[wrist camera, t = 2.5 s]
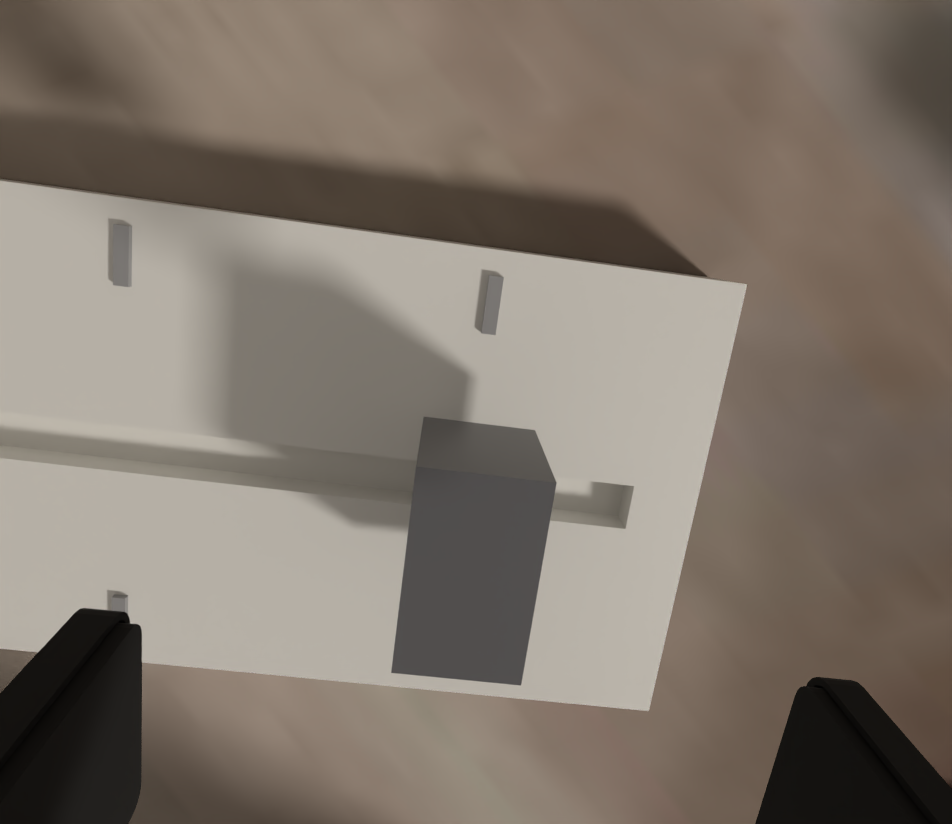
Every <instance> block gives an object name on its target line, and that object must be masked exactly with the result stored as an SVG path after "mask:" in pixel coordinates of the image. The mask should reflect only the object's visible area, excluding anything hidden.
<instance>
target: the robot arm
mask: <svg viewBox="0 0 952 824" xmlns="http://www.w3.org/2000/svg"><path fill="white" fill-rule="evenodd" d="M141 722H142V630H141V627H140V625H138V624H130V619H129V616H128V614H127V613H126V612H122V611H111V610H101V609H90V608H82V609H79V610H78V611H76V612H75V613H74V614H73V615H72V616H71V617H70V619H69V620H68V621H67V622H66V623H65V624H64V625H63V626H62V627H61V628H60V629H59V630H58V632H57V633H56V634H55V635H54V636H53V637H52V638H51V639H50V640H49V641H48V642H47V643H46V645H45V646H44V647H43V648H42V649H41V650H40V651H39V652H38V653H37V654H36V655H35V656H34V658H33V659H32V660H31V661H30V662H29V663H28V664H27V665H26V666H25V667H24V668H23V669H22V671H21V672H20V673H19V674H18V675H17V676H16V677H15V678H14V679H13V680H12V681H11V682H10V684H9V685H8V686H7V687H6V688H5V689H4V690H3V691H2V692H1V693H0V824H128V823H129V821H130V819H131V817H132V815H133V812H134V810H135V808H136V805H137V802H138V798H139V794H140V789H141ZM755 824H952V789H951V788H950V786H949V785H948V784H947V783H946V782H945V781H944V779H943V778H942V777H941V776H940V775H939V774H938V773H937V771H936V770H935V769H934V768H933V767H932V766H931V765H930V763H929V762H928V761H927V760H926V759H925V758H924V757H923V755H922V754H921V753H920V752H919V751H918V750H917V748H916V747H915V746H914V745H913V744H912V743H911V742H910V740H909V739H908V738H907V737H906V736H905V735H904V734H903V732H902V731H901V730H900V729H899V728H898V727H897V726H896V724H895V723H894V722H893V721H892V720H891V719H890V717H889V716H888V715H887V714H886V713H885V712H884V711H883V709H882V708H881V707H880V706H879V705H878V704H877V703H876V701H875V700H874V699H873V698H872V697H871V696H870V695H869V693H868V692H867V691H866V690H865V689H864V688H863V687H862V686H861V685H860V684H859V683H858V682H855V681H852V680H842V679H832V678H821V677H816V678H812V679H811V680H810V681H809V682H808V684H807V686H804V687H800V688H799V689H798V691H797V693H796V695H795V698H794V701H793V704H792V708H791V711H790V714H789V717H788V720H787V724H786V727H785V730H784V733H783V737H782V740H781V743H780V746H779V749H778V753H777V756H776V759H775V762H774V766H773V769H772V772H771V775H770V778H769V782H768V785H767V788H766V791H765V795H764V798H763V801H762V804H761V807H760V811H759V814H758V817H757V820H756V823H755Z"/></svg>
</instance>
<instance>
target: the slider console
mask: <svg viewBox="0 0 952 824" xmlns="http://www.w3.org/2000/svg"><path fill="white" fill-rule="evenodd" d="M746 287H747V284H742V283H737V282H732V281H726V280H721V279H716V278H710V277H704V276H696V275H689V274H682V273H675V272H668V271H661V270H653V269H646V268H639V267H632V266H625V265H617V264H610V263H603V262H596V261H589V260H582V259H574V258H567V257H560V256H553V255H546V254H538V253H531V252H524V251H517V250H510V249H502V248H495V247H488V246H481V245H474V244H467V243H459V242H452V241H445V240H438V239H431V238H423V237H416V236H409V235H402V234H395V233H388V232H380V231H373V230H366V229H359V228H352V227H344V226H337V225H330V224H323V223H316V222H309V221H301V220H294V219H287V218H280V217H273V216H265V215H258V214H251V213H244V212H237V211H229V210H222V209H215V208H208V207H201V206H194V205H186V204H179V203H172V202H165V201H158V200H150V199H143V198H136V197H129V196H122V195H115V194H107V193H100V192H93V191H86V190H79V189H71V188H64V187H57V186H50V185H43V184H35V183H28V182H21V181H14V180H7V179H0V649H9V650H19V651H29V652H39V651H40V650H41V649H42V648H43V647H44V646H45V645H46V643H47V642H48V641H49V640H50V639H51V638H52V637H53V636H54V635H55V634H56V633H57V632H58V630H59V629H60V628H61V627H62V626H63V625H64V624H65V623H66V622H67V621H68V620H69V619H70V617H71V616H72V615H73V614H74V613H75V612H76V611H78V610H79V609H82V608H90V609H101V610H111V611H122V612H126V613H127V614H128V616H129V619H130V624H138V625H140V627H141V630H142V662H144V663H154V664H165V665H175V666H186V667H196V668H206V669H217V670H227V671H238V672H248V673H258V674H269V675H279V676H290V677H300V678H310V679H321V680H331V681H342V682H352V683H363V684H373V685H383V686H394V687H404V688H415V689H425V690H435V691H446V692H456V693H467V694H477V695H487V696H498V697H508V698H519V699H529V700H539V701H550V702H560V703H571V704H581V705H592V706H602V707H612V708H623V709H633V710H644V711H649V708H650V703H651V699H652V695H653V690H654V686H655V682H656V677H657V673H658V669H659V664H660V660H661V656H662V651H663V647H664V643H665V638H666V634H667V630H668V625H669V621H670V617H671V612H672V608H673V604H674V599H675V595H676V591H677V586H678V582H679V578H680V573H681V569H682V565H683V560H684V556H685V552H686V547H687V543H688V539H689V534H690V530H691V526H692V521H693V517H694V513H695V508H696V504H697V500H698V495H699V491H700V487H701V482H702V478H703V474H704V469H705V465H706V461H707V456H708V452H709V448H710V443H711V439H712V435H713V430H714V426H715V422H716V417H717V413H718V409H719V404H720V400H721V396H722V391H723V387H724V383H725V378H726V374H727V370H728V365H729V361H730V357H731V352H732V348H733V344H734V339H735V335H736V331H737V326H738V322H739V318H740V313H741V309H742V305H743V300H744V296H745V292H746ZM423 417H432V418H440V419H448V420H456V421H464V422H473V423H481V424H489V425H497V426H505V427H514V428H522V429H530V430H535V431H536V434H537V436H538V439H539V441H540V444H541V446H542V448H543V451H544V453H545V456H546V458H547V461H548V463H549V466H550V468H551V470H552V473H553V475H554V478H555V480H556V483H557V484H556V489H555V495H554V501H553V506H552V512H551V518H550V523H549V529H548V535H547V541H546V546H545V552H544V558H543V563H542V569H541V575H540V581H539V586H538V592H537V598H536V603H535V609H534V615H533V621H532V626H531V632H530V638H529V643H528V649H527V655H526V661H525V666H524V672H523V678H522V683H521V685H510V684H500V683H490V682H479V681H469V680H459V679H449V678H438V677H428V676H418V675H408V674H397V673H391V670H392V661H393V653H394V645H395V636H396V628H397V620H398V611H399V603H400V595H401V587H402V578H403V570H404V562H405V553H406V545H407V537H408V528H409V520H410V512H411V503H412V495H413V487H414V479H415V470H416V463H417V456H418V450H419V443H420V437H421V430H422V424H423Z"/></svg>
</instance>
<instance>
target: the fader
mask: <svg viewBox="0 0 952 824" xmlns="http://www.w3.org/2000/svg"><path fill="white" fill-rule="evenodd" d="M556 484H557V483H556V480H555V478H554V475H553V473H552V470H551V468H550V466H549V463H548V461H547V458H546V456H545V453H544V451H543V448H542V446H541V444H540V441H539V439H538V436H537V434H536V431H535V430H530V429H522V428H514V427H505V426H497V425H489V424H481V423H473V422H464V421H456V420H448V419H440V418H432V417H423V424H422V430H421V437H420V443H419V450H418V456H417V463H416V470H415V479H414V487H413V495H412V503H411V512H410V520H409V528H408V537H407V545H406V553H405V562H404V570H403V578H402V587H401V595H400V603H399V611H398V620H397V628H396V636H395V645H394V653H393V661H392V670H391V673H397V674H408V675H418V676H428V677H438V678H449V679H459V680H469V681H479V682H490V683H500V684H510V685H521V683H522V678H523V672H524V666H525V661H526V655H527V649H528V643H529V638H530V632H531V626H532V621H533V615H534V609H535V603H536V598H537V592H538V586H539V581H540V575H541V569H542V563H543V558H544V552H545V546H546V541H547V535H548V529H549V523H550V518H551V512H552V506H553V501H554V495H555V489H556Z"/></svg>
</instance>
